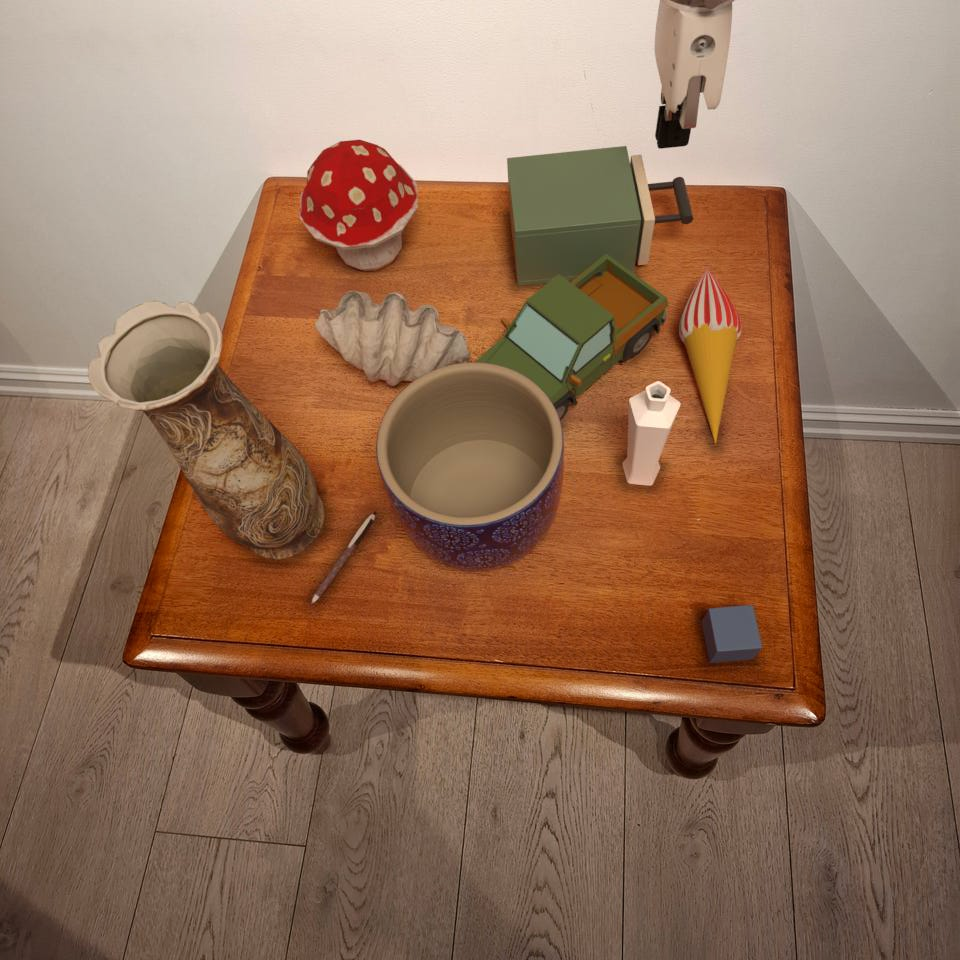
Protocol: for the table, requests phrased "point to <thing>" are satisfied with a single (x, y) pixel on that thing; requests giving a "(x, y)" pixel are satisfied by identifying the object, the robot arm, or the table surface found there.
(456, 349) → the seashell
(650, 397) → the perfume bottle
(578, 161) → the cabinet
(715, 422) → the ice cream cone
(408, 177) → the decorative mushroom
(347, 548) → the pen
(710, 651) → the block
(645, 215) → the drawer
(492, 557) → the planter
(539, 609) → the table surface
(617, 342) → the toy truck
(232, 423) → the vase
